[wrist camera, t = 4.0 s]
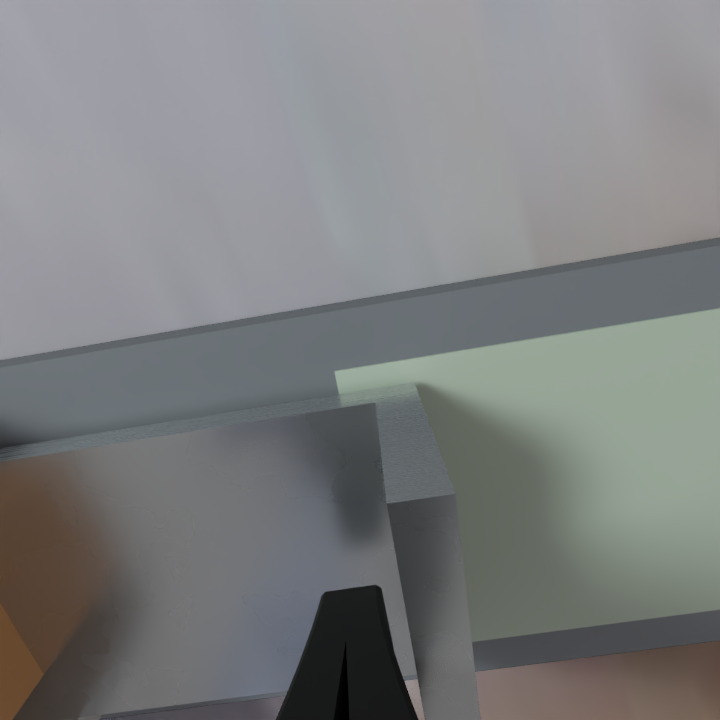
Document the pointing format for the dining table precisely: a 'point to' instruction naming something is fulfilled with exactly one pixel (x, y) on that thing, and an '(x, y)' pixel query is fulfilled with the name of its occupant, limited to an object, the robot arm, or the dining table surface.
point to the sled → (231, 553)
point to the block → (15, 669)
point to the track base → (485, 432)
